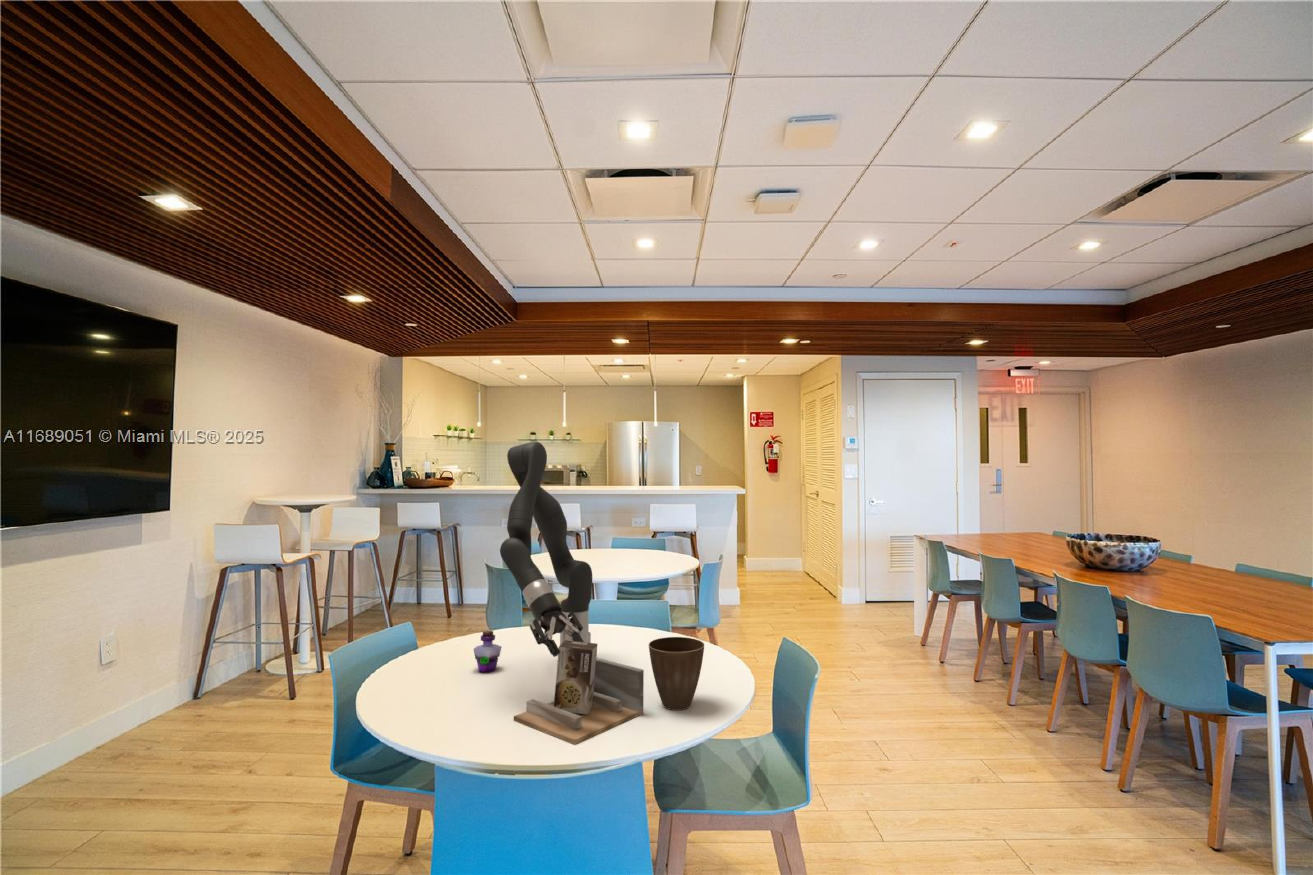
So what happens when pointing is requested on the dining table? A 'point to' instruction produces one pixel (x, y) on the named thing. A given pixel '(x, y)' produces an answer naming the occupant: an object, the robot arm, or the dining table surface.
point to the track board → (611, 705)
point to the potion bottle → (487, 653)
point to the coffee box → (575, 676)
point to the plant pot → (676, 669)
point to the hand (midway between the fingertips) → (569, 651)
